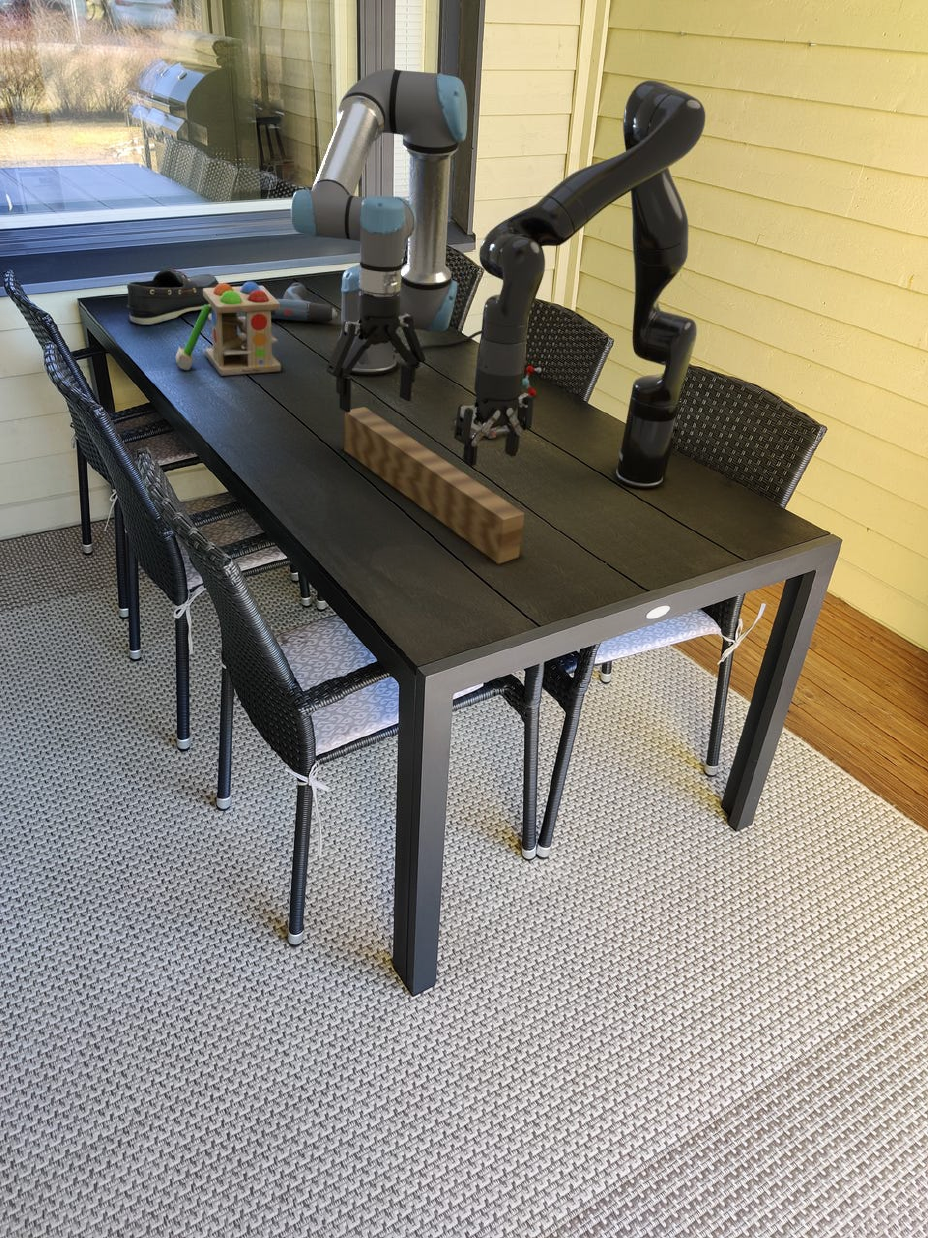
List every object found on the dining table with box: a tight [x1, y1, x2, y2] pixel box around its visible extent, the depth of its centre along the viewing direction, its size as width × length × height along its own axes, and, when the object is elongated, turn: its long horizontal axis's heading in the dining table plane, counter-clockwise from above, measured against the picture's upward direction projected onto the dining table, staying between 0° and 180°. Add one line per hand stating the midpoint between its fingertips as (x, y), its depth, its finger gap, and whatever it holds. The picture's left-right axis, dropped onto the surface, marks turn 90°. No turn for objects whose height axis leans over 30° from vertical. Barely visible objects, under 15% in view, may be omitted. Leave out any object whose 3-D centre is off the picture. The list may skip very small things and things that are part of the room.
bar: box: [343, 406, 525, 565], centre depth 180 cm, size 50×5×8 cm, turn 37°
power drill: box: [271, 282, 338, 322], centre depth 265 cm, size 5×19×20 cm
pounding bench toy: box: [174, 281, 282, 377], centre depth 225 cm, size 23×14×18 cm, turn 116°
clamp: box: [454, 414, 522, 439], centre depth 210 cm, size 15×2×10 cm
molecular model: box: [522, 365, 542, 398], centre depth 227 cm, size 12×10×10 cm
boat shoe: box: [126, 268, 220, 325], centre depth 258 cm, size 13×33×10 cm, turn 147°
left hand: (375, 404), depth 187 cm, fingers open, 13 cm apart
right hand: (490, 459), depth 163 cm, fingers open, 8 cm apart
